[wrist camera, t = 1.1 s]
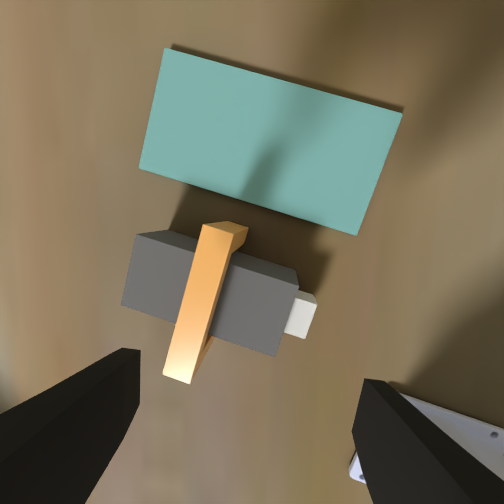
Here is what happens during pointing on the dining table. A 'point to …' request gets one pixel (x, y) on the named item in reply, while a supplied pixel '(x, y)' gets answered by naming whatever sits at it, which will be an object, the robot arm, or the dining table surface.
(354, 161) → the mat
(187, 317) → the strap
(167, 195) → the dining table surface
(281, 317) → the grey box
